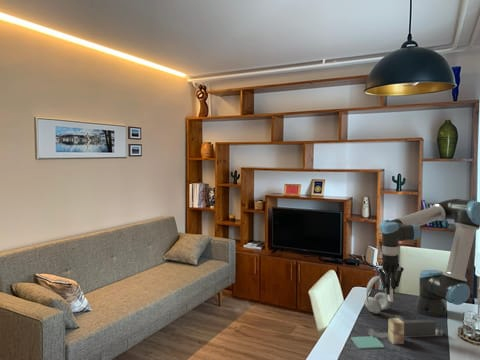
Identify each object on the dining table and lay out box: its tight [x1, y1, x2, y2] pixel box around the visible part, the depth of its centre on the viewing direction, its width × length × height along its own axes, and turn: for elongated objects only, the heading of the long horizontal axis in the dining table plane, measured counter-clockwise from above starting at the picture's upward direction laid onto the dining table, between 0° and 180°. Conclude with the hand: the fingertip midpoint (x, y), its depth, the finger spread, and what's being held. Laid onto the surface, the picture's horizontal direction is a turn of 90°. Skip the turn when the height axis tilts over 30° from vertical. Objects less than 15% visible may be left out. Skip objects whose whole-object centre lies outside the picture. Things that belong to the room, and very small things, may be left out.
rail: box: [368, 325, 444, 339], centre depth 183 cm, size 35×4×2 cm, turn 94°
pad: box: [350, 335, 385, 350], centre depth 175 cm, size 12×10×1 cm
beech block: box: [387, 317, 405, 345], centre depth 176 cm, size 5×5×10 cm
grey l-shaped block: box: [394, 314, 437, 335], centre depth 186 cm, size 16×9×6 cm, turn 94°
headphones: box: [364, 275, 392, 315], centre depth 210 cm, size 19×9×20 cm, turn 126°
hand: (390, 300), depth 187 cm, fingers closed
